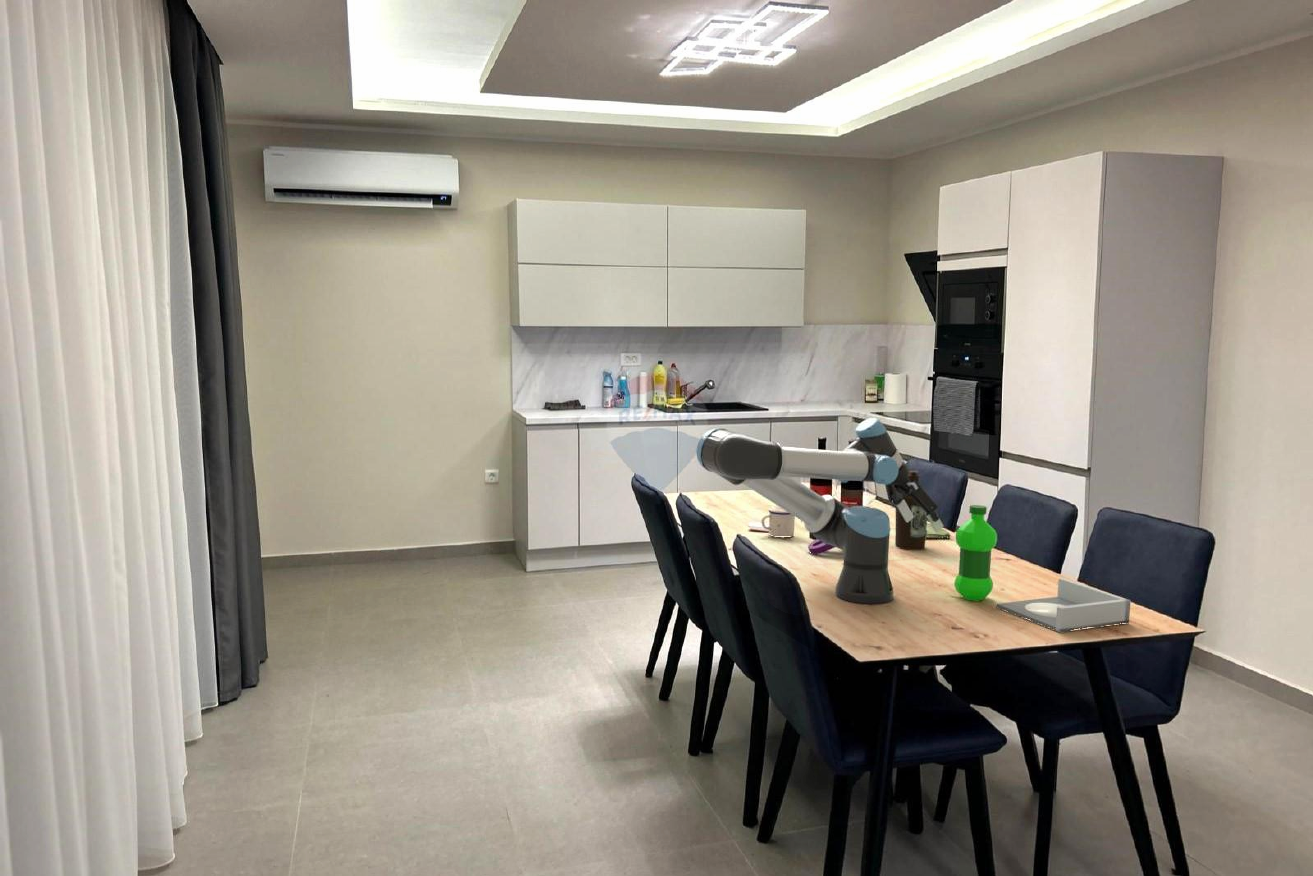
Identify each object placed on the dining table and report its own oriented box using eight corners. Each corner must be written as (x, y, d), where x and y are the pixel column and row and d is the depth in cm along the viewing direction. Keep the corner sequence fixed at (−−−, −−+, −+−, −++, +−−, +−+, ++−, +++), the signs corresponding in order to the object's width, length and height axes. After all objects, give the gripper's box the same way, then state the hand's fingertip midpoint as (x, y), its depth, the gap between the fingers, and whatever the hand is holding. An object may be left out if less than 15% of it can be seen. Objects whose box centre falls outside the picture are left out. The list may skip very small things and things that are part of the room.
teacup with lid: (787, 532, 340) (789, 499, 339) (799, 537, 331) (800, 504, 330) (756, 533, 336) (757, 500, 335) (766, 539, 328) (767, 505, 326)
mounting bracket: (821, 575, 306) (873, 551, 306) (810, 551, 305) (863, 527, 305) (815, 567, 316) (866, 544, 315) (805, 544, 315) (856, 521, 314)
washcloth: (917, 541, 331) (917, 531, 331) (895, 530, 349) (896, 521, 348) (953, 540, 333) (953, 531, 333) (930, 529, 351) (930, 520, 350)
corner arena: (1060, 633, 233) (1061, 608, 232) (996, 607, 253) (997, 585, 252) (1128, 623, 241) (1130, 600, 240) (1061, 599, 261) (1063, 578, 261)
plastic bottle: (996, 605, 256) (1001, 511, 253) (954, 602, 258) (959, 508, 255) (990, 594, 265) (996, 504, 262) (950, 591, 267) (955, 502, 264)
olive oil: (886, 544, 323) (890, 470, 320) (911, 542, 328) (915, 468, 325) (908, 551, 314) (911, 475, 311) (933, 548, 319) (937, 473, 316)
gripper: (928, 465, 265) (961, 524, 272) (875, 453, 288) (907, 508, 295) (909, 481, 264) (943, 541, 270) (857, 468, 287) (889, 523, 293)
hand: (924, 524), depth 283 cm, fingers open, 13 cm apart
